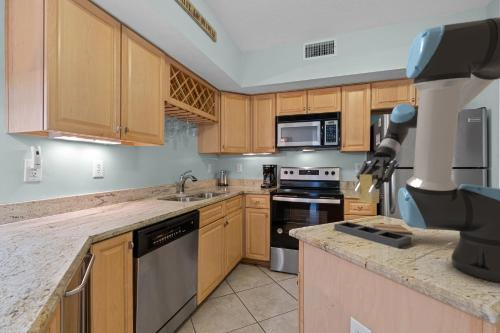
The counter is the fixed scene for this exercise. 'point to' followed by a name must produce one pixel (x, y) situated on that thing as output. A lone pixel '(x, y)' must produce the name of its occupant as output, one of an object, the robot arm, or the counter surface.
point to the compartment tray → (374, 234)
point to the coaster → (392, 228)
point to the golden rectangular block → (368, 188)
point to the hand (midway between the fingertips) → (363, 193)
